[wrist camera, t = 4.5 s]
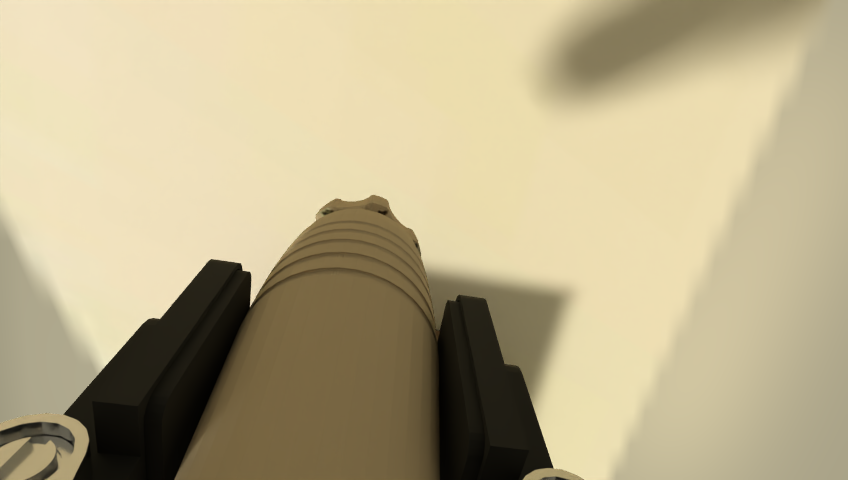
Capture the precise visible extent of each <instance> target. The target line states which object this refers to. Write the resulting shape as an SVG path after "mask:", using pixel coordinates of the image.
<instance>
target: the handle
mask: <svg viewBox="0 0 848 480" xmlns="http://www.w3.org/2000/svg"><path fill="white" fill-rule="evenodd" d="M174 480H440V437H439V355H438V344H437V336H436V327H435V319H434V312H433V307H432V301H431V296H430V292H429V286H428V281H427V276H426V272H425V269H424V266H423V262H422V260H421V252H420V247H419V244H418V240H417V238H416V236H415V234H414V232H413V230H412V229H409V228H406V227H405V226H403V225H402V224H401V223H400V222H399V221H398V220H397V219H396V217H395V216H394V214H393V213H392V211H391V209H390V207H389V203H388V201H387V200H386V199H384V198H382V197H379V196H376V195H371V196H370V197H369V198H367V199H365V200H361V201H356V202H347V201H342V200H341V199H334V200H333V201H331V202H329V203H328V204H326V205H325V206H324V207H323V208H321V209H320V210H319V212H318V213H317V214H316V222H314V223H313V224H312V225H311V226H309V227H308V228H307V229H306V230H304V231H303V232H302V233H301V234H300V236H299V237H298V238H297V239H296V240H295V241H294V242H293V243H292V244H291V246H290V247H289V248H288V249H287V251H286V252H285V253H284V254H283V256H282V257H281V259H280V260H279V262H278V263H277V264H276V266H275V267H274V268H273V270H272V271H271V273H270V275H269V276H268V278H267V279H266V281H265V283H264V284H263V286H262V288H261V289H260V291H259V293H258V294H257V296H256V299H255V300H254V302H253V303H252V305H251V307H250V309H249V310H248V312H247V314H246V316H245V318H244V320H243V322H242V323H241V325H240V328H239V330H238V332H237V335H236V337H235V339H234V342H233V344H232V346H231V349H230V351H229V353H228V356H227V358H226V360H225V363H224V365H223V367H222V370H221V372H220V374H219V377H218V379H217V381H216V384H215V386H214V388H213V391H212V393H211V395H210V398H209V400H208V402H207V405H206V407H205V409H204V412H203V414H202V416H201V419H200V421H199V423H198V426H197V428H196V430H195V433H194V435H193V437H192V440H191V442H190V444H189V446H188V449H187V451H186V453H185V456H184V458H183V460H182V463H181V465H180V467H179V470H178V472H177V474H176V477H175V479H174Z"/></svg>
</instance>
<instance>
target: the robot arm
mask: <svg viewBox="0 0 848 480" xmlns="http://www.w3.org/2000/svg"><path fill="white" fill-rule="evenodd" d="M250 294H251V273H250V272H247V271H242V265H241V263H234V262H228V261H221V260H214V259H211V260H209V261H208V262H207V264H206V265H205V266H204V267H203V268H202V270H201V271H200V272H199V273H198V274H197V276H196V277H195V278H194V279H193V280H192V282H191V283H190V284H189V285H188V286H187V288H186V289H185V290H184V291H183V292H182V294H181V295H180V296H179V297H178V298H177V300H176V301H175V302H174V303H173V304H172V306H171V307H170V308H169V309H168V310H167V312H166V313H165V314H164V315H163V316H162V318H161V319H155V318H152V319H148V320H147V321H146V322H145V323H143V324H142V325H141V327H140V328H139V329H138V330H137V331H136V332H135V333H134V335H133V336H132V337H131V338H130V339H129V340H128V341H127V343H126V344H125V345H124V346H123V347H122V348H121V349H120V351H119V352H118V353H117V354H116V355H115V356H114V357H113V358H112V360H111V361H110V362H109V363H108V364H107V365H106V366H105V368H104V369H103V370H102V371H101V372H100V373H99V374H98V376H97V377H96V378H95V379H94V380H93V381H92V382H91V384H90V385H89V386H88V387H87V388H86V389H85V390H84V392H83V393H82V394H81V395H80V396H79V397H78V398H77V399H76V401H75V402H74V403H73V404H72V405H71V406H70V408H69V409H68V410H67V411H66V412H65V413H64V414H63V415H59V414H49V413H45V414H35V415H27V416H22V417H19V418H15V419H12V420H8V421H5V422H2V423H0V480H174V479H175V477H176V474H177V472H178V470H179V467H180V465H181V463H182V460H183V458H184V456H185V453H186V451H187V449H188V446H189V444H190V442H191V440H192V437H193V435H194V433H195V430H196V428H197V426H198V423H199V421H200V419H201V416H202V414H203V412H204V409H205V407H206V405H207V402H208V400H209V398H210V395H211V393H212V391H213V388H214V386H215V384H216V381H217V379H218V377H219V374H220V372H221V370H222V367H223V365H224V363H225V360H226V358H227V356H228V353H229V351H230V349H231V346H232V344H233V342H234V339H235V337H236V335H237V332H238V330H239V328H240V325H241V323H242V322H243V320H244V318H245V316H246V314H247V312H248V310H249V309H250ZM437 344H438V355H439V437H440V480H584V479H582V478H581V477H579V476H577V475H575V474H572V473H570V472H567V471H564V470H561V469H554V468H553V465H552V462H551V459H550V456H549V453H548V450H547V447H546V444H545V441H544V438H543V435H542V432H541V429H540V426H539V423H538V420H537V417H536V414H535V411H534V408H533V405H532V402H531V399H530V396H529V393H528V390H527V387H526V384H525V381H524V378H523V375H522V372H521V370H520V368H519V367H517V366H514V365H507V364H504V361H503V357H502V354H501V350H500V347H499V343H498V340H497V336H496V333H495V330H494V326H493V323H492V319H491V316H490V312H489V309H488V305H487V302H486V300H485V299H483V298H477V297H470V296H463V295H458V297H457V299H456V301H449V300H448V301H447V303H446V307H445V311H444V315H443V319H442V324H441V328H440V332H439V336H438V341H437Z"/></svg>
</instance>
